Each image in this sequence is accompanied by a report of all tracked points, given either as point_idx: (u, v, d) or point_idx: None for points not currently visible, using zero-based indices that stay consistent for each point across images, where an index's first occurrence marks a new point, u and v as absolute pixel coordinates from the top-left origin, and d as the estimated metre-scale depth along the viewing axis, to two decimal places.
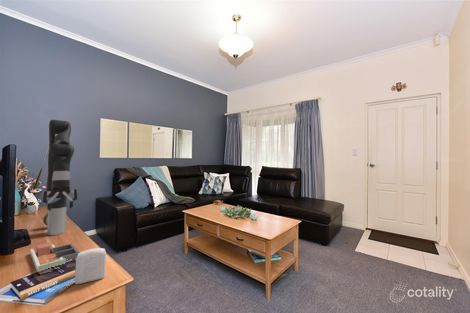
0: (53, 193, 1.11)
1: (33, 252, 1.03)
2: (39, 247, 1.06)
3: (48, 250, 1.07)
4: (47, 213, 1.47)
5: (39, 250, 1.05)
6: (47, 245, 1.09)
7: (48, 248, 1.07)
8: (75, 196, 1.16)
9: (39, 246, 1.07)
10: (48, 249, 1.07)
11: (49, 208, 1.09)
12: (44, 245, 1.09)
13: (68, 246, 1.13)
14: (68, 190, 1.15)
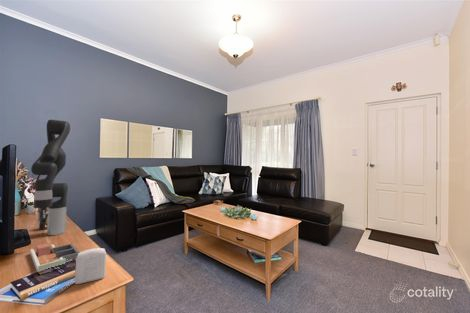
0: None
1: (33, 252, 1.03)
2: (39, 247, 1.06)
3: (48, 250, 1.08)
4: None
5: (39, 250, 1.05)
6: (47, 245, 1.09)
7: (48, 248, 1.08)
8: (40, 220, 1.11)
9: (39, 246, 1.07)
10: (48, 249, 1.08)
11: (39, 228, 1.13)
12: (44, 245, 1.09)
13: (68, 246, 1.13)
14: (41, 211, 1.11)
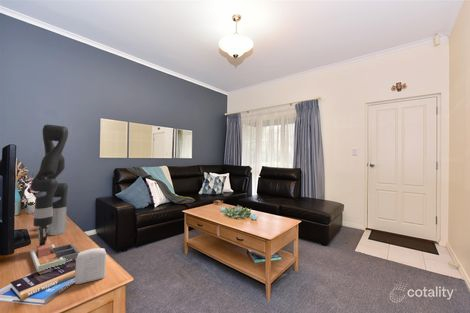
0: None
1: (33, 252, 1.03)
2: (39, 248, 1.05)
3: (48, 251, 1.06)
4: None
5: (39, 251, 1.04)
6: (47, 246, 1.08)
7: (48, 249, 1.06)
8: (40, 239, 1.07)
9: (39, 247, 1.06)
10: (48, 250, 1.06)
11: None
12: (44, 246, 1.08)
13: (68, 246, 1.13)
14: (41, 229, 1.08)
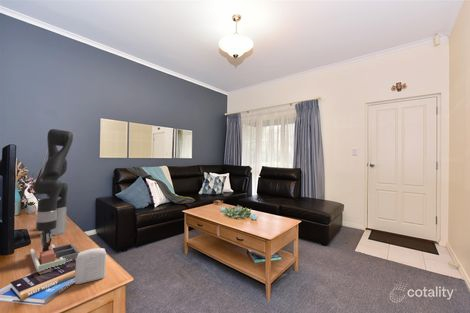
0: None
1: (33, 252, 1.03)
2: (43, 254, 0.98)
3: (52, 257, 0.99)
4: None
5: (43, 258, 0.97)
6: (51, 252, 1.01)
7: (52, 255, 0.99)
8: (43, 244, 1.00)
9: (43, 253, 0.99)
10: (52, 256, 0.99)
11: None
12: (48, 252, 1.00)
13: (68, 246, 1.13)
14: (44, 234, 1.00)
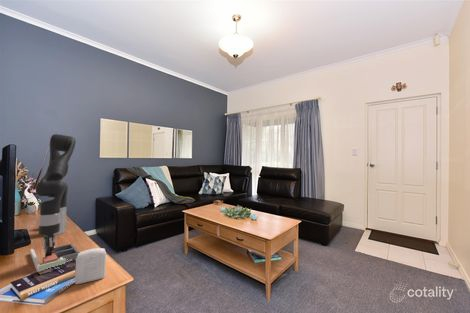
0: None
1: (33, 252, 1.03)
2: (45, 260, 0.93)
3: None
4: None
5: (45, 263, 0.91)
6: (54, 257, 0.95)
7: None
8: (46, 249, 0.95)
9: (45, 258, 0.94)
10: None
11: None
12: (51, 257, 0.95)
13: (68, 246, 1.13)
14: (47, 238, 0.95)
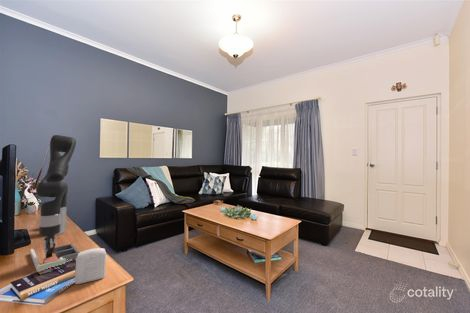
0: None
1: (33, 252, 1.03)
2: (46, 261, 0.92)
3: None
4: None
5: None
6: (55, 258, 0.95)
7: None
8: (47, 250, 0.95)
9: (46, 260, 0.93)
10: None
11: None
12: (52, 258, 0.94)
13: (68, 246, 1.13)
14: (47, 239, 0.95)
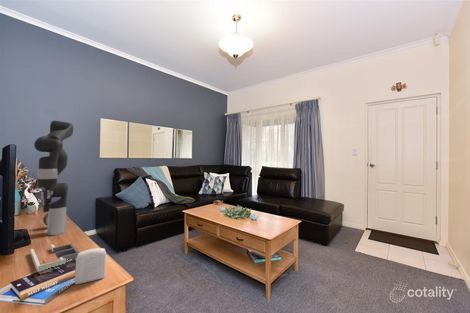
0: None
1: (33, 252, 1.03)
2: (46, 261, 0.92)
3: None
4: (47, 213, 1.47)
5: None
6: (55, 258, 0.95)
7: None
8: (44, 200, 1.02)
9: (46, 260, 0.93)
10: None
11: (43, 209, 1.04)
12: (52, 258, 0.94)
13: (68, 246, 1.13)
14: (45, 191, 1.02)
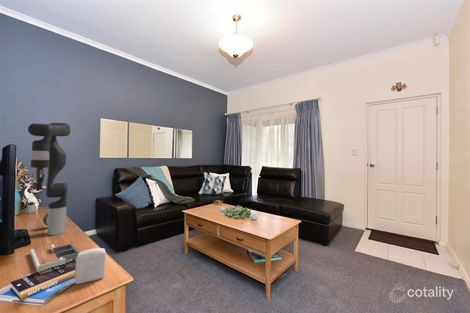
0: None
1: (33, 252, 1.03)
2: (46, 261, 0.92)
3: None
4: (47, 213, 1.47)
5: None
6: (55, 258, 0.95)
7: None
8: (37, 179, 1.13)
9: (46, 260, 0.93)
10: None
11: (36, 188, 1.15)
12: (52, 258, 0.94)
13: (68, 246, 1.13)
14: (37, 170, 1.13)
